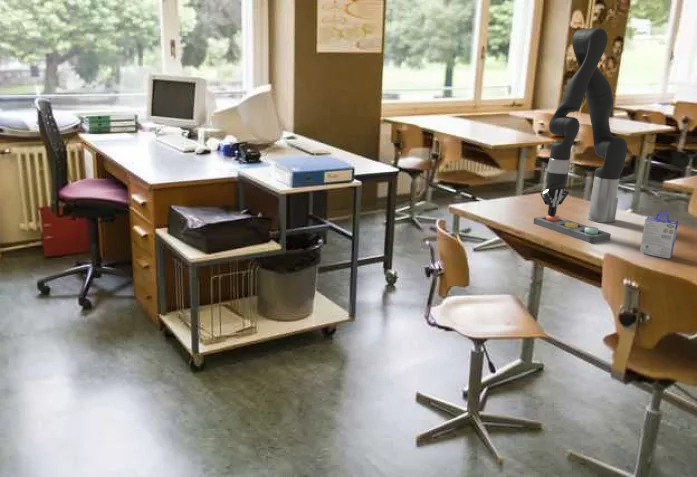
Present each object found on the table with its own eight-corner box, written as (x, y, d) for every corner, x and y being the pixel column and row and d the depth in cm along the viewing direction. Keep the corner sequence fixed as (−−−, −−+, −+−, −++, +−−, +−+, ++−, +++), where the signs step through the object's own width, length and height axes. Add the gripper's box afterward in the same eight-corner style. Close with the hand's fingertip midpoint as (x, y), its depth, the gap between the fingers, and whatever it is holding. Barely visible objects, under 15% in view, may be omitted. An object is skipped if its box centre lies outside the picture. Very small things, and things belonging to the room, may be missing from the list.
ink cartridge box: (672, 255, 232) (680, 213, 228) (670, 259, 228) (678, 217, 223) (641, 249, 237) (648, 208, 233) (638, 253, 233) (646, 212, 228)
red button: (543, 221, 260) (543, 215, 259) (551, 219, 262) (552, 213, 262) (552, 224, 256) (553, 218, 256) (560, 222, 259) (561, 216, 258)
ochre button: (561, 229, 253) (562, 222, 252) (569, 227, 255) (570, 221, 255) (571, 232, 249) (572, 226, 249) (579, 230, 252) (580, 224, 251)
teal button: (581, 233, 245) (582, 227, 245) (589, 232, 248) (590, 225, 247) (591, 237, 242) (592, 230, 241) (600, 235, 244) (601, 229, 243)
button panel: (533, 225, 261) (534, 217, 260) (551, 222, 266) (552, 214, 265) (590, 245, 239) (591, 237, 238) (609, 241, 244) (610, 233, 243)
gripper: (562, 167, 260) (556, 211, 265) (537, 169, 253) (531, 215, 258) (578, 171, 254) (571, 216, 259) (552, 173, 247) (546, 220, 252)
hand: (551, 215), depth 259 cm, fingers closed
